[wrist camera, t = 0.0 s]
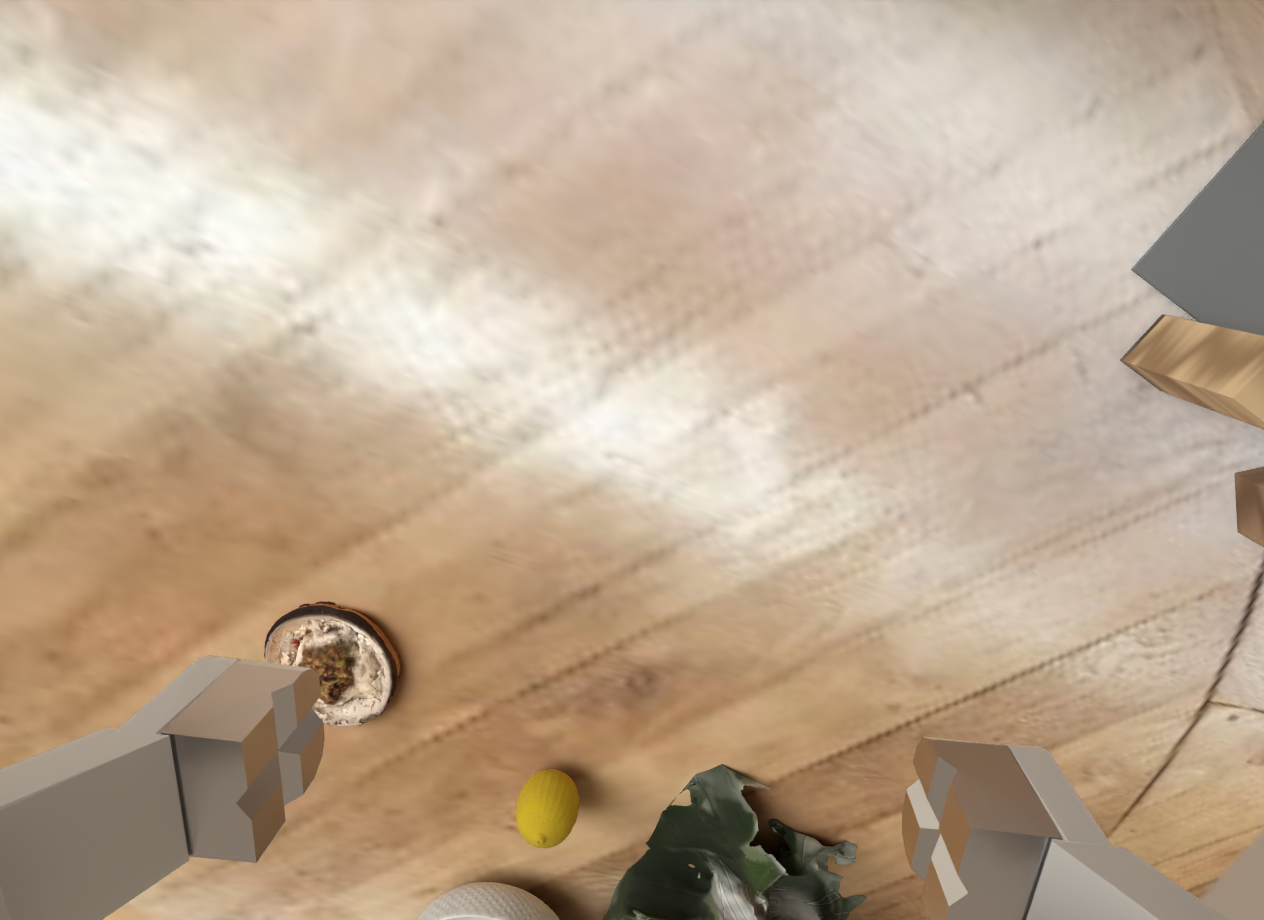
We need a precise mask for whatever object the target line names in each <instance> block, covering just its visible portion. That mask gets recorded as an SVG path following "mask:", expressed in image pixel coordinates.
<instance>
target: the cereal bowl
mask: <svg viewBox="0 0 1264 920" xmlns="http://www.w3.org/2000/svg"><path fill="white" fill-rule="evenodd" d="M417 920H559V918H558V916H557V915H556V914H555V913H554V912H553V910H551V909H550V908H549V906H548V905H546V904H545V903H544V902H543V901H541V900H540V899H539V898H537V897H536V896H534V895H532V894H531V893H528V892H527V891H525V890H523V889H520V888H517V887H513V886H510V885H508V884H503V883H502V884H501V883H495V882H476V883H469V884H466V885H462V886H459V887H456V888H454V889H452V890H449V891H447V892H446V893H444V894H442V895H440V896H439V897H438V898H436V899H435V900H434V901H433V902H432V903H430V904H429V906H428V907H427V908H426V909H425V910H424V911H423V913H422V914H421V915H420V916H419V918H418V919H417Z"/></svg>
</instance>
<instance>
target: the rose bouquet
mask: <svg viewBox="0 0 1264 920" xmlns="http://www.w3.org/2000/svg"><path fill="white" fill-rule="evenodd" d="M744 785H747V786H749V785H750V786H752V787H759V788H764V789H767V790H768V789H770V790H772V789H771V788H768V787H766V786H764V785H762V784H760V783H757V782H755V781H753V780H751V779H749V778H747V777H744V776H742V775H740V774H738V773H736V772H733V771H731V770H730V769H728V768H727V767H726V766H724V765H722V764H721V765H719V766H717V767H715V768H713V769H711V770H709V771H705V772H701V773H698V774H696V775H695V776H694V777H693V778H692V779H691V781H690V782H689V783H688V784H687V786H686V787H685V788H684V789H683V790H682V792H683V791H684V790H686V789H688V790H690V793H691V795H690V796H691V803H692V805H689V806H676V805H673V806H672V805H671V804H670V805H671V806H670V805H669V806H668V807H667V809H666V810H664V811H663V812H662V814H661V818H660V819H659V822H658V824H657V826H656V828H655V830H654V832H653V834H652V836H651V838H650V840H649V841H648V842H647V843H646V844H647V845H648V847H649V848H650V849H649V850H647V852H646V854H645V855H644V856H643V857H642V858H641V859H640V860H639V861H638V862H637V863H636V864H635V865H634V866H632V867H631V868H630V869H628V871H627V872H626V873H625V875H624V877H623V879H622V880H621V881H620V882H619V884H618V885H617V887H616V889H615V892H614V895H613V897H612V901H611V905H610V908H609V910H608V914H607V916H605V917H604V918H603V919H602V920H846V918H847V916H848V915H849V913H850V911H851V910H853V909H854V908H855V907H856V906H858V905H859V904H860V903H862V902H863V901H864V900H866V898H867V897H865V896H864V895H855V896H850V897H848V898H843V897H842V896H841V895H840V894H839V893H838V890H839V887H840V881H841V880H842V878H843V877H842V876H840V875H837V874H835V873H832V872H829V871H828V870H827V869H828V867H827V865H826V863H827V857H829V856H832V857H833V856H834V857H835V858H837V861H836V864H838V865H846V864H850V863H852V862H854V860H855V859H856V857H855V849H856V845H853V844H850V843H849V842H847V841H843V842H842V843H840V844H838V845H835V846H832V847H829V846H822V845H821V844H820V843H819V842H818V841H817V840H816V839H814V838H812V837H809V836H806V835H803V834H800V833H798V832H794V831H793V830H791V829H790V828H788V827H786V826H785V825H783V824H782V823H780V822H779V821H778V820H777V819H770V820H769V826H770V827H771V829H772V830H773V831H774V832H775V833H777V834H779V835H780V836H781V837H782V838H783V839H784V840H785V841H786V842H787V844H788V847H789V849H790V851H789V850H787V849H785V848H783V847H781V848H780V850H779V853H778V857H776V858H774V857H773V855H771V854H770V855H769V854H766V852H765V851H764V850H763V848H761V845H759V846H756V847H753V846H751V847H750V845H749V843H750V842H751V841H753V838H754V837H755V835H756V833H757V831H758V817H757V814H756V813H755V812H754V811H753V810H752V809H751V808H750V806H749V805H748V804H747V802H746V801H745V799H744V797H743V796H742V794H741V790H743V786H744ZM674 800H675V799H674ZM674 800H673V801H674ZM673 801H672V802H673ZM776 823H780V824H781V825H782V827H779V826H778V825H777V824H776ZM689 864H693V865H694V866H695V868H692V867H690V866H688V865H689Z"/></svg>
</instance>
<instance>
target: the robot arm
mask: <svg viewBox="0 0 1264 920" xmlns="http://www.w3.org/2000/svg"><path fill="white" fill-rule="evenodd" d="M320 696H321V688H320V680H319V674H318V673H317V672H315V671H314V670H313V669H312V668H306V667H298V666H291V665H283V664H276V663H268V662H261V661H254V660H246V659H244V660H241V659H237V658H228V657H220V656H211V655H210V656H205V657H201V658H198V659H197V660H196V661H195V662H194V663H193V664H191V665H190V666H189V667H188V668H187V669H186V670H185V671H183V672H182V673H181V674H180V675H179V676H178V677H177V678H175V679H174V680H173V681H172V682H171V683H170V684H169V685H167V686H166V687H165V688H164V689H163V690H162V691H161V692H160V693H158V694H157V695H156V696H155V697H154V698H153V699H152V700H150V701H149V702H148V703H147V704H146V705H145V706H144V707H142V708H141V709H140V710H139V711H138V712H137V713H136V714H134V715H133V716H132V717H131V718H130V719H129V720H128V721H126V722H125V723H124V724H123V725H122V726H121V727H120V728H118V729H112V728H104V729H102V730H99V731H97V732H94V733H92V734H89V735H87V736H84V737H81V738H79V739H76V740H74V741H71V742H69V743H66V744H64V745H61V746H59V747H56V748H53V749H51V750H48V751H46V752H43V753H41V754H38V755H36V756H33V757H31V758H28V759H25V760H23V761H20V762H18V763H15V764H13V765H10V766H8V767H5V768H3V769H0V920H102V919H104V918H105V917H107V916H108V915H110V914H111V913H113V912H114V911H116V910H117V909H119V908H120V907H122V906H123V905H124V904H126V903H127V902H129V901H130V900H132V899H133V898H135V897H136V896H138V895H139V894H141V893H142V892H143V891H145V890H146V889H148V888H149V887H151V886H152V885H154V884H155V883H157V882H158V881H160V880H161V879H163V878H164V877H165V876H167V875H168V874H170V873H171V872H173V871H174V870H176V869H177V868H179V867H180V866H182V865H183V864H184V863H186V862H187V861H189V856H191V857H201V858H211V859H222V860H232V861H243V862H253V863H257V861H258V860H259V858H260V857H261V855H262V854H263V853H264V851H265V850H266V848H267V847H268V845H269V844H270V842H271V841H272V840H273V838H274V837H275V835H276V834H277V832H278V831H279V829H280V828H281V826H282V825H283V824H284V822H285V811H284V805H286V804H288V803H289V802H291V801H293V800H295V799H296V798H298V797H300V796H302V795H303V794H304V793H305V791H306V790H307V788H308V787H309V785H310V783H311V782H312V780H313V779H314V777H315V774H316V772H317V769H318V766H319V763H320V761H321V758H322V754H323V746H324V723H323V721H322V720H321V719H320V718H319V716H318V715H317V714H316V713H315V711H314V710H313V709H312V707H313V705H314V704H315V703H316V701H317V700H318V699H319V698H320ZM913 764H914V766H915V769H916V771H917V774H918V777H919V780H918V781H916V782H915V783H914V784H913V785H912V786H910V787H909V788H908V789H907V790H906V794H905V799H904V805H903V810H902V835H903V841H904V846H905V852H906V855H907V858H908V861H909V865H910V868H911V869H912V870H913V871H914V872H915V873H916V874H917V875H918V876H919V877H920V878H921V879H923V880H924V881H925V884H924V888H923V893H922V897H921V901H922V904H923V907H924V910H925V913H926V916H927V919H928V920H1228V919H1227V918H1226V917H1224V916H1223V915H1221V914H1220V913H1218V912H1217V911H1216V910H1214V909H1213V908H1211V907H1210V906H1208V905H1207V904H1205V903H1204V902H1203V901H1201V900H1200V899H1198V898H1197V897H1195V896H1194V895H1193V894H1191V893H1190V892H1188V891H1187V890H1185V889H1184V888H1182V887H1181V886H1180V885H1178V884H1177V883H1175V882H1174V881H1172V880H1171V879H1170V878H1168V877H1167V876H1165V875H1164V874H1162V873H1161V872H1159V871H1158V870H1157V869H1155V868H1154V867H1152V866H1151V865H1149V864H1148V863H1147V862H1145V861H1144V860H1142V859H1141V858H1139V857H1138V856H1136V855H1135V854H1134V853H1132V852H1131V851H1129V850H1128V849H1126V848H1122V847H1115V846H1112V845H1111V843H1110V842H1109V840H1108V839H1107V837H1106V836H1105V834H1104V833H1103V831H1102V830H1101V828H1100V827H1099V825H1098V824H1097V822H1096V821H1095V819H1094V818H1093V816H1092V815H1091V813H1090V812H1089V810H1088V809H1087V807H1086V806H1085V804H1084V803H1083V801H1082V800H1081V799H1080V797H1079V796H1078V794H1077V793H1076V791H1075V790H1074V788H1073V787H1072V785H1071V784H1070V782H1069V781H1068V779H1067V778H1066V776H1065V775H1064V773H1063V772H1062V770H1061V769H1060V767H1059V766H1058V764H1057V763H1056V761H1055V760H1054V758H1053V757H1052V755H1051V754H1050V753H1049V752H1048V751H1047V750H1045V749H1044V748H1042V747H1036V746H1024V745H1011V744H1001V745H996V744H986V743H977V742H968V741H958V740H949V739H939V738H930V737H922V738H921V740H920V741H919V743H918V745H917V747H916V751H915V755H914V759H913Z"/></svg>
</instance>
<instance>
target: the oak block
mask: <svg viewBox="0 0 1264 920" xmlns="http://www.w3.org/2000/svg"><path fill="white" fill-rule="evenodd" d="M1120 361H1122V362H1123V363H1124V364H1126V365H1127V366H1128V367H1130V368H1131V369H1132V370H1134V371H1135V372H1136V373H1138V374H1139V375H1140V376H1142V377H1143V378H1144V379H1146V380H1147V381H1148V382H1150V383H1151V384H1152V385H1154V386H1155V387H1156V388H1158V389H1159V390H1160V391H1163V392H1165V393H1168V394H1171V395H1173V396H1176V397H1179V398H1181V399H1184V400H1187V401H1189V402H1192V403H1195V404H1197V405H1200V406H1203V407H1205V408H1208V409H1211V410H1213V411H1216V412H1219V413H1221V414H1224V415H1227V416H1229V417H1232V418H1235V419H1237V420H1240V421H1243V422H1245V423H1248V424H1251V425H1253V426H1256V427H1259V428H1261V429H1264V336H1262V335H1257V334H1252V333H1248V332H1243V331H1238V330H1233V329H1229V328H1224V327H1219V326H1214V325H1210V324H1205V323H1200V322H1195V321H1190V320H1186V319H1181V318H1176V317H1171V316H1167V315H1161V317H1160V318H1159V319H1158V320H1157V321H1156V322H1155V323H1154V324H1153V325H1152V326H1151V327H1150V328H1149V329H1148V330H1147V332H1146V333H1145V334H1144V335H1143V336H1142V337H1141V338H1140V339H1139V340H1138V341H1137V342H1136V343H1135V344H1134V346H1133V347H1132V348H1131V349H1130V350H1129V351H1128V352H1127V353H1126V354H1125V355H1124V356H1123V357H1122V358H1121V360H1120Z"/></svg>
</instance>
